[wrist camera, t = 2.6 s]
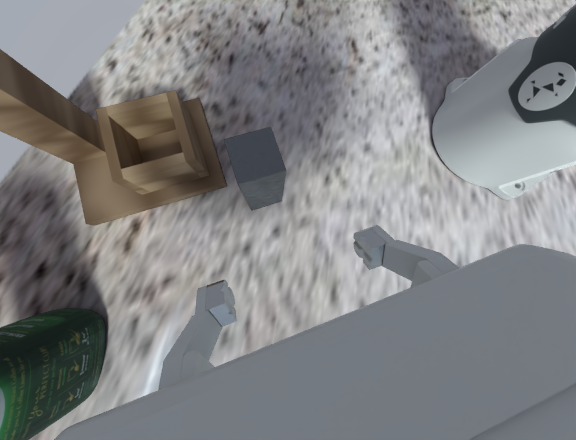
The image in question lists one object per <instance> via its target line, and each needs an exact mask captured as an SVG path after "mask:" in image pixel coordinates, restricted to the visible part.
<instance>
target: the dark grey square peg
mask: <svg viewBox="0 0 576 440" xmlns="http://www.w3.org/2000/svg"><path fill="white" fill-rule="evenodd" d="M224 142H225V145H226V148H227V151H228V154H229V157H230V161H231V164H232V167H233V170H234V173H235V176H236V179H237V183H238V185H239V187H240V189H241V191H242V193H243V195H244V197H245V199H246V201H247V203H248V205H249V207H250V209H251V210H255V209H259V208H262V207H265V206H268V205H271V204H275V203H278V202H281V201H282V196H283V189H284V182H285V176H286V168H285V165H284V162H283V160H282V157H281V154H280V151H279V148H278V146H277V143H276V140H275V137H274V134H273V131H272V129H271V127H268V128H265V129H261V130H257V131H254V132H250V133H246V134H242V135H239V136H235V137H231V138H228V139H224Z"/></svg>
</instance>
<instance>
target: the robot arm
mask: <svg viewBox="0 0 576 440" xmlns="http://www.w3.org/2000/svg"><path fill="white" fill-rule="evenodd" d="M432 134H433V140H434V144H435V147H436V150H437V152H438V154H439V156H440V158H441V159H442V161H443V162H444V163H445V165H446V166H447V167H448V168H449V169H450V170H451V171H452V172H453V173H455V174H456V175H457V176H459V177H460V178H462V179H463V180H465V181H467V182H470V183H472V184H475V185H479V186H482V187H485V188H488V189H489V190H491V191H492V192H493V193H495V194H496V195H498V196H499V197H501V198H503V199H505V200H509V199H512V198H515V197H518V196H520V195H521V194H523V193H524V192H526V191H527V190H529V189H530V188H532V187H533V186H535V185H536V184H538V183H539V182H541V181H542V180H544V179H545V178H547V177H548V176H550V175H551V174H553V173H554V172H556V171H557V170H559V169H563V168H566V167H569V166H572V165H575V164H576V5H574V6H573V7H572V8H570V9H569V10H568V11H567V12H565V13H564V14H563V15H562V16H561V17H560V18H559V19H558V20H557V21H556V22H555V23H554V24H553V25H551V26H550V27H549V28H548V29H546V30H545V31H544V32H543V33H542V34H541V35H540V36H539V37H529V38H525V39H518V40H516V41H515V42H513V43H511V44H510V45H509V46H508V47H506V48H505V49H504V50H503V51H501V52H500V53H499V54H498V55H496V56H495V57H494V58H493V59H491V60H490V61H489V62H488V63H487V64H485V65H484V66H483V67H482V68H480V69H479V70H478V71H477V72H475V73H474V74H473V75H472V76H471V77H465V78H456V79H454V80H453V81H452V82H451V83H449V84H448V86H447V88H446V93H445V100H444V102H443V104H442V105H441V106H440V108H439V109H438V111H437V113H436V115H435V117H434V121H433V127H432ZM354 239H355V242H354V249H355V252H356V254H357V255H358V256H359V257H360V258H363V262H364V264H365V265H366V266H367V267H368V269H369V270H370V269H373V268H376V267H379V266H383V267H385V268H387V269H389V270H391V271H393V272H395V273H397V274H399V275H401V276H403V277H405V278H407V279H409V280H411V281H412V284H411V287H410V288H409V289H406V290H404V291H402V292H399V293H397V294H394V295H392V296H389V297H387V298H384V299H382V300H379V301H377V302H374V303H372V304H370V305H367V306H365V307H362V308H360V309H357V310H355V311H352V312H350V313H347V314H345V315H342V316H340V317H338V318H335V319H333V320H330V321H328V322H325V323H323V324H320V325H318V326H315V327H313V328H311V329H308V330H306V331H303V332H301V333H298V334H296V335H293V336H291V337H289V338H286V339H284V340H281V341H279V342H276V343H274V344H271V345H269V346H266V347H264V348H261V349H259V350H257V351H254V352H252V353H249V354H247V355H244V356H242V357H239V358H237V359H234V360H232V361H229V362H227V363H225V364H222V365H220V366H217V367H214V366H213V365H212V364H211V363H210V362H209V358H210V356H211V354H212V351H213V349H214V346H215V344H216V342H217V339H218V337H219V334H220V332H221V330H222V327H223V326H225V325H228V324H230V323H233V322H235V321H237V320H236V310H235V308H234V307H233V306H234V304H235V299H234V295H233V292H232V290H231V288H230V287H228V283H227V281H226V280H222V281H219V282H216V283H213V284H210V285H207V286H204V287H201V288H198V291H197V299H196V311H195V315H194V316H192V318H191V319H190V321H189V322H188V324H187V325H186V327H185V328H184V330H183V332H182V333H181V335H180V336H179V338H178V339H177V341H176V342H175V344H174V346H173V347H172V349H171V350H170V352H169V353H168V355H167V356H166V358H165V359H164V362H163V368H162V373H161V379H160V384H159V390H158V391H156V392H153V393H151V394H148V395H146V396H143V397H141V398H138V399H136V400H133V401H131V402H128V403H126V404H123V405H121V406H119V407H116V408H114V409H111V410H109V411H106V412H104V413H101V414H99V415H96V416H94V417H91V418H89V419H86V420H84V421H81V422H79V423H76V424H74V425H72V426H70V427H68V428H67V429H65V430H64V431H62V432H61V433H60V434H59V435H58V436H57V437H56V438H55V439H54V440H576V257H575V256H573V255H570V254H568V253H564V252H560V251H556V250H552V249H547V248H543V247H538V246H533V245H527V244H519V245H515V246H512V247H510V248H507V249H505V250H502V251H500V252H497V253H495V254H492V255H490V256H488V257H485V258H483V259H480V260H478V261H475V262H473V263H470V264H468V265H465V266H463V267H461V268H459V267H458V266H456V265H455V264H454V263H453V262H451V261H450V260H449V259H447V258H446V257H445V256H444V255H442V254H441V253H439V252H436V251H432V250H429V249H426V248H422V247H419V246H416V245H413V244H409V243H406V242H403V241H399V240H396V241H395V240H394V239H393V238H392V237H391V236H390V235H388V234H387V233H386V232H385V231H384V230H383V229H382V228H381V227H379V226H378V225H375V226H373V227H370V228H367V229H364V230H362V231H359V232H356V233H354Z"/></svg>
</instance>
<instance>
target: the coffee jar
mask: <svg viewBox="0 0 576 440" xmlns="http://www.w3.org/2000/svg"><path fill="white" fill-rule="evenodd" d="M104 350H105V324H104V321H103V319H102V318H101V317H100V316H99V315H98V314H97V313H95V312H93V311H91V310H87V309H74V308H68V309H57V310H52V311H49V312H45V313H42V314H38V315H35V316H32V317H29V318H26V319H23V320H20V321H18V322H15V323H12V324H9V325H6V326H4V327H1V328H0V440H29V439H30V438H32V437H33V436H35V435H36V434H38V433H39V432H41V431H42V430H44V429H45V428H47V427H48V426H50V425H51V424H53V423H54V422H56V421H57V420H59V419H60V418H62V417H63V416H64V415H66V414H67V413H69V412H70V411H71V410H73V409H74V408H76V407H77V406H78V405H80V404H81V403H82V402H84V401H85V400H86V399H87V398H88V397H89V396H90V395H91V394H92V392H93V391H94V389H95V387H96V385H97V383H98V380H99V377H100V373H101V369H102V364H103V359H104Z"/></svg>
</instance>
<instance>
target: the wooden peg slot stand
mask: <svg viewBox="0 0 576 440" xmlns="http://www.w3.org/2000/svg"><path fill="white" fill-rule="evenodd" d="M96 112H97V117H98V121H99V122H97V121H96V120H94V119H93V118H92V117H90V116H89V115H88V114H86V113H85V112H84V111H82V110H81V109H80V108H78V107H77V106H76V105H74V104H73V103H72V102H70V101H69V100H68V99H66V98H65V97H64V96H62V95H61V94H60V93H58V92H57V91H55V90H54V89H53V88H52V87H50V86H49V85H48V84H46V83H45V82H43V81H42V80H41V79H40V78H38V77H37V76H35V75H34V74H33V73H31V72H30V71H29V70H27V69H26V68H25V67H23V66H22V65H21V64H19V63H18V62H17V61H15V60H14V59H13V58H11V57H10V56H9V55H7V54H6V53H4V52H3V51H2V50H1V49H0V131H1V132H3V133H6V134H8V135H10V136H12V137H15V138H17V139H19V140H21V141H23V142H26V143H28V144H30V145H32V146H35V147H37V148H39V149H41V150H43V151H46V152H48V153H50V154H52V155H55V156H57V157H59V158H61V159H64V160H66V161H68V162H70V163H73V164H74V169H75V174H76V178H77V183H78V188H79V193H80V198H81V203H82V207H83V212H84V217H85V222H86V224H90V225H98V224H101V223H105V222H108V221H111V220H115V219H118V218H121V217H125V216H128V215H132V214H135V213H138V212H142V211H145V210H148V209H152V208H155V207H159V206H162V205H165V204H169V203H172V202H175V201H179V200H182V199H186V198H189V197H192V196H196V195H199V194H202V193H206V192H209V191H212V190H216V189H219V188H223V187H226V186H227V184H226V181H225V178H224V175H223V172H222V168H221V165H220V162H219V159H218V155H217V152H216V149H215V146H214V142H213V139H212V136H211V133H210V130H209V126H208V123H207V120H206V117H205V113H204V110H203V107H202V104H201V102H200V100H199V98H197V99H193V100H189V101H185V102H182V100H181V99H180V97H179V95H178V94H177V92H176V90H175V91H171V92H166V93H162V94H158V95H154V96H149V97H145V98H141V99H137V100H132V101H128V102H124V103H120V104H115V105H111V106H107V107H103V108H99V109H96Z"/></svg>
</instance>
